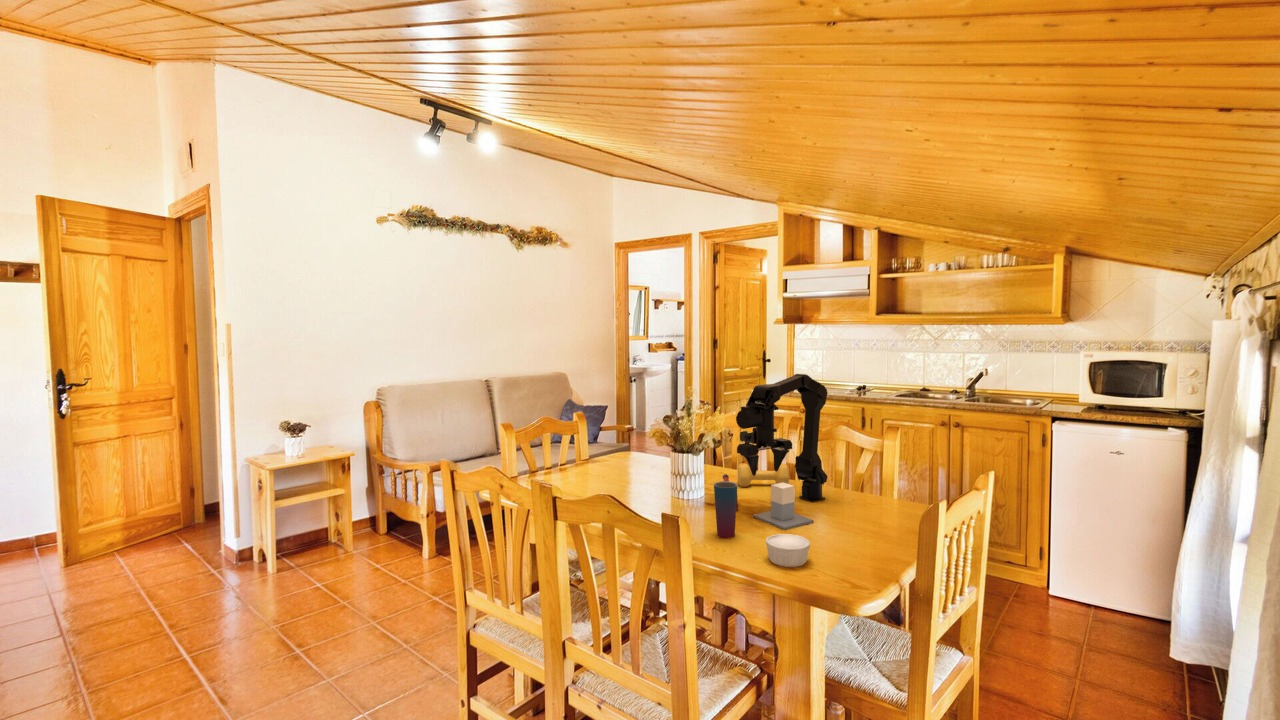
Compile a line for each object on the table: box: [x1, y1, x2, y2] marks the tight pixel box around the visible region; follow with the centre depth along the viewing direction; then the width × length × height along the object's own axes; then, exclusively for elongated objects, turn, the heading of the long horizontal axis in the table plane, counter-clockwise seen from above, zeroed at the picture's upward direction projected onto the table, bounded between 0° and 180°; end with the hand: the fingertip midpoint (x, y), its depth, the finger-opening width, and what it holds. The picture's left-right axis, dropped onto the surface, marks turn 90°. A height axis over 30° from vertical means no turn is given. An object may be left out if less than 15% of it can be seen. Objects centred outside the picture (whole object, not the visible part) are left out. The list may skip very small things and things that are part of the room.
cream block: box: [770, 482, 796, 505], centre depth 189 cm, size 5×5×5 cm
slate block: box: [770, 500, 795, 521], centre depth 189 cm, size 5×5×5 cm
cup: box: [713, 480, 739, 539], centre depth 176 cm, size 7×7×15 cm
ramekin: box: [765, 533, 811, 568], centre depth 158 cm, size 11×11×5 cm
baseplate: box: [752, 510, 815, 531], centre depth 189 cm, size 12×14×1 cm
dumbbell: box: [736, 462, 790, 488], centre depth 228 cm, size 19×9×8 cm, turn 84°
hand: (765, 473), depth 195 cm, fingers open, 9 cm apart
